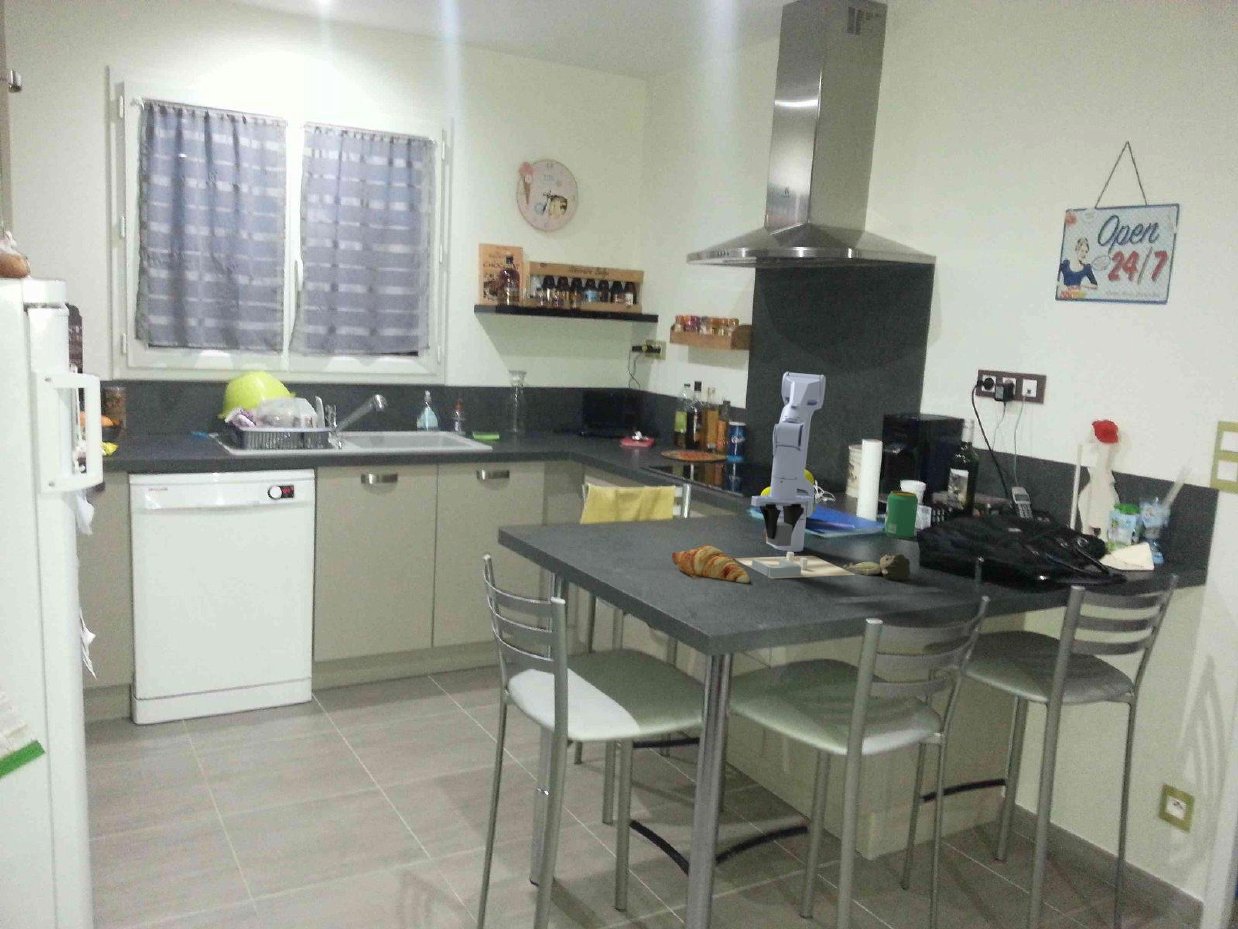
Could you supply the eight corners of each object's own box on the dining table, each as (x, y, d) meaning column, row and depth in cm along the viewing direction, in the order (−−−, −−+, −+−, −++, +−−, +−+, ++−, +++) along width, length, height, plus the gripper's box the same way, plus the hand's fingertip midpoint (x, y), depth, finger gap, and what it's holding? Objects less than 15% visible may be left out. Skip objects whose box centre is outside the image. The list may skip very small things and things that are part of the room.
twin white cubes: (785, 562, 234) (786, 551, 234) (790, 561, 234) (791, 551, 234) (802, 569, 228) (803, 559, 227) (806, 569, 228) (807, 559, 228)
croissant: (754, 601, 216) (768, 567, 217) (732, 586, 209) (746, 551, 210) (677, 576, 230) (690, 544, 231) (654, 561, 222) (668, 528, 224)
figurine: (854, 552, 237) (914, 552, 227) (856, 579, 237) (917, 581, 227) (837, 556, 231) (899, 557, 221) (840, 584, 231) (901, 586, 221)
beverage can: (886, 531, 283) (891, 489, 282) (915, 535, 280) (920, 493, 278) (881, 536, 276) (886, 493, 274) (911, 540, 273) (916, 497, 271)
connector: (757, 537, 228) (759, 518, 227) (771, 537, 229) (773, 517, 229) (776, 546, 221) (778, 526, 220) (790, 545, 222) (792, 525, 221)
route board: (732, 562, 234) (733, 558, 234) (812, 559, 242) (813, 555, 242) (771, 582, 218) (771, 578, 218) (855, 579, 227) (855, 574, 227)
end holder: (751, 568, 226) (752, 559, 226) (782, 566, 229) (783, 558, 229) (769, 577, 219) (770, 568, 219) (800, 575, 222) (801, 566, 222)
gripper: (765, 480, 215) (759, 542, 217) (823, 480, 220) (816, 541, 222) (748, 474, 221) (743, 535, 223) (805, 474, 227) (799, 533, 229)
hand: (778, 537), depth 223 cm, fingers closed on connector, 3 cm apart
